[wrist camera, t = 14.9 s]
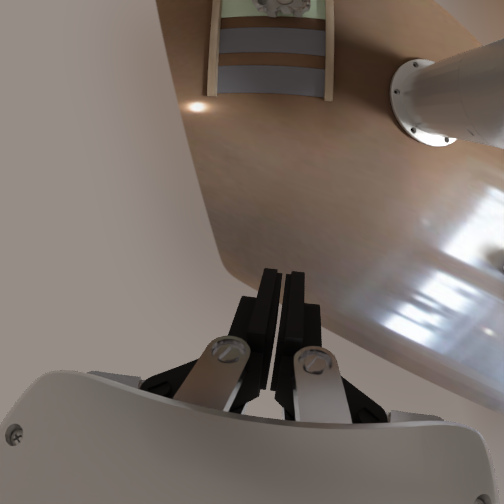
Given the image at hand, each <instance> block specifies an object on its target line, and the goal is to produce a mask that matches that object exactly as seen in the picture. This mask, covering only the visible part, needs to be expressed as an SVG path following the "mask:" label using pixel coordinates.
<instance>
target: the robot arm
mask: <svg viewBox="0 0 504 504" xmlns="http://www.w3.org/2000/svg"><path fill="white" fill-rule="evenodd" d="M413 65H415V67H414V66H413ZM394 91H396V94H395V93H394ZM389 94H390V103H391V106H392V110H393V112H394V115H395V117H396V119H397V121H398V122H399V124H400V125H401V127H402V128H403V129H404V130H405V131H406V133H407V134H409V135H410V136H411V137H412V138H413V139H415V140H417V141H418V142H420V143H423V144H425V145H429V146H434V147H442V146H447V145H449V144H451V143H453V142H454V141H456V140H457V139H460V140H465V141H470V142H475V143H480V144H485V145H489V146H493V147H497V148H501V149H504V39H501V40H498V41H496V42H493V43H490V44H487V45H485V46H482V47H479V48H475V49H472V50H469V51H466V52H463V53H460V54H458V55H455V56H452V57H449V58H447V59H444V60H441V61H439V62H433V61H430V60H426V59H415V60H411V61H408V62H406V63H404V64H403V65H401V66H400V67H399V68H398V69H397V70H396V71H395V73H394V75H393V77H392V80H391V83H390V92H389ZM411 128H412V130H413V131H412V132H411ZM444 138H445V141H444ZM304 279H305V273H304V272H295V271H292V273H291V274H286V280H285V288H284V296H283V304H282V311H281V319H280V327H279V333H278V340H277V347H276V355H275V362H274V369H273V375H272V382H271V388H270V390H271V391H276V392H275V400H276V401H277V402H279V404H280V405H281V406H282V407H283V409H282V420H279V419H271V418H263V417H256V416H248V415H244V413H245V411H246V408H247V405H248V402H249V401H251V400H253V399H254V398H256V397H259V393H260V389H263V390H265V389H266V385H267V380H268V374H269V368H270V362H271V356H272V350H273V344H274V337H275V331H276V324H277V316H278V306H279V298H280V289H281V280H282V273H277V269H268V268H265V269H264V272H263V276H262V280H261V283H260V287H259V291H258V295H257V298H255V297H247V296H242V298H241V300H240V303H239V306H238V308H237V311H236V314H235V317H234V320H233V323H232V325H231V328H230V331H229V334H228V336H222V337H218V338H216V339H214V340H213V341H211V343H209V345H208V346H207V347H206V349H205V351H204V352H203V354H202V355H201V357H200V358H199V359H197V360H194V361H192V362H189V363H187V364H184V365H182V366H179V367H176V368H174V369H171V370H168V371H165V372H163V373H160V374H157V375H154V376H152V377H150V378H148V379H146V380H141V377H136V376H127V375H119V374H111V373H105V372H99V371H91V372H88V373H83V372H78V371H65V370H60V371H51V372H48V373H45V374H43V375H41V376H40V377H39V378H37V380H35V381H34V382H33V383H32V384H31V385H30V386H29V387H28V388H27V389H26V390H25V392H24V393H23V394H22V395H21V397H20V398H19V399H18V400H17V402H16V403H15V404H14V406H13V407H12V408H11V410H10V411H9V412H8V414H7V415H6V417H5V418H4V420H3V421H2V423H1V425H0V504H499V492H498V485H497V480H496V475H495V469H494V465H493V461H492V458H491V455H490V452H489V449H488V446H487V444H486V442H485V440H484V438H483V437H482V435H481V434H480V433H479V432H478V431H477V430H475V429H474V428H472V427H470V426H467V425H464V424H460V423H456V422H449V421H444V420H443V419H441V418H440V417H437V416H432V415H424V414H415V413H408V412H401V411H394V410H391V412H390V413H389V412H385V411H384V409H383V408H382V407H381V406H379V405H378V404H377V403H375V402H374V401H373V400H371V399H370V398H369V397H368V396H366V395H365V394H364V393H362V392H361V391H360V390H358V389H357V388H356V387H355V386H353V385H352V384H351V383H349V382H348V381H347V380H346V379H344V378H343V377H342V376H341V375H340V371H339V367H338V364H337V360H336V358H335V356H334V355H333V354H332V353H331V352H330V351H328V350H327V349H325V348H322V341H321V317H320V305H317V304H307V303H304Z"/></svg>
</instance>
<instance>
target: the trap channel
mask: <svg viewBox="0 0 504 504" xmlns="http://www.w3.org/2000/svg"><path fill="white" fill-rule="evenodd" d="M221 13H222V0H213V5H212V17H211V30H210V45H209V62H208V84H207V96H209V97H217V82H218V61H219V42H220V27H221ZM325 22H326V49H325V87H324V101H327V102H332V101H333V80H334V5H333V0H325Z"/></svg>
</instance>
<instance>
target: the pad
mask: <svg viewBox="0 0 504 504" xmlns="http://www.w3.org/2000/svg"><path fill="white" fill-rule="evenodd" d="M310 2H311V7H310V10H309V11H307V12H305V13H304V14H303V16H302V17H306V18H317V19H325V0H310ZM242 16H268V14H267V13H265V12H259V11H258V10H257V8H256V7H255V6H254V4H253V2H252V0H222V13H221V18H227V17H242ZM277 16H291V17H294V15H293V13H292V14H283V13H281V12H279V13H278V15H277Z"/></svg>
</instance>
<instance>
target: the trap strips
mask: <svg viewBox="0 0 504 504" xmlns="http://www.w3.org/2000/svg"><path fill="white" fill-rule="evenodd" d="M325 49H326V31H321V30H311V29H299V28H278V27H251V28H229V29H220V42H219V54H220V53H240V52H275V53H295V54H308V55H318V56H325ZM324 87H325V69H316V68H305V67H292V66H271V65H236V66H218V82H217V93H276V94H292V95H304V96H315V97H323V98H324Z"/></svg>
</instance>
